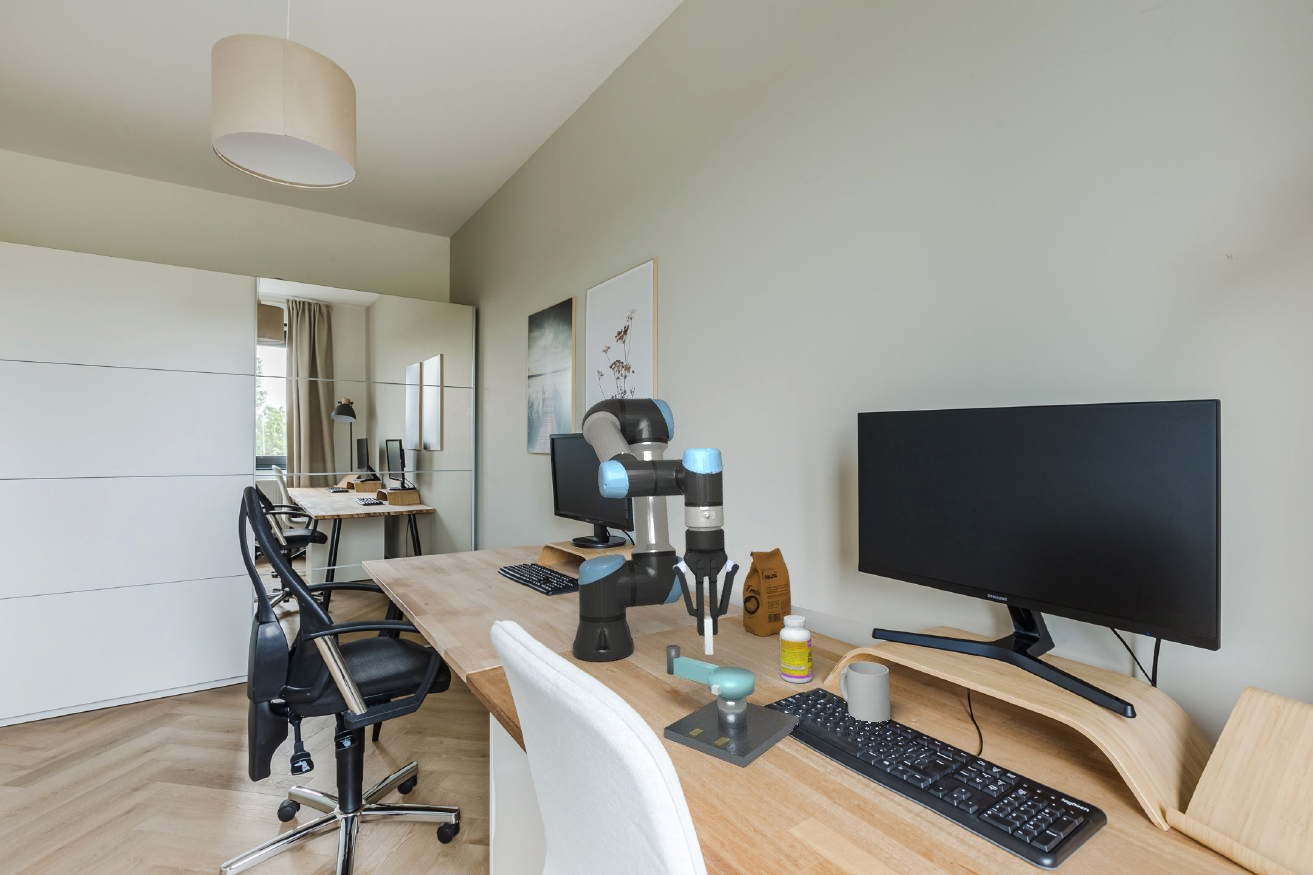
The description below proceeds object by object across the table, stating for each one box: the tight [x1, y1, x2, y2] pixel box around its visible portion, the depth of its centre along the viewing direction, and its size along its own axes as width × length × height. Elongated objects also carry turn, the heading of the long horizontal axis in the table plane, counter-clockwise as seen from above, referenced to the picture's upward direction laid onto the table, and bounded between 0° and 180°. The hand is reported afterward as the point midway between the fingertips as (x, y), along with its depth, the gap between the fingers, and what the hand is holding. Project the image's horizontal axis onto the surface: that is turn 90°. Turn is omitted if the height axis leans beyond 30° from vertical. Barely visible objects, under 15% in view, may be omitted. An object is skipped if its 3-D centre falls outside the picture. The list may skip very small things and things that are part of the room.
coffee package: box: [742, 547, 792, 638], centre depth 162 cm, size 10×12×22 cm
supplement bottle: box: [779, 614, 813, 684], centre depth 126 cm, size 7×7×13 cm
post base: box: [663, 696, 800, 768], centre depth 102 cm, size 16×18×7 cm
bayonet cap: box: [665, 644, 756, 698], centre depth 106 cm, size 18×10×5 cm, turn 49°
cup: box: [838, 660, 891, 723], centre depth 107 cm, size 7×10×9 cm
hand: (708, 652), depth 112 cm, fingers closed
